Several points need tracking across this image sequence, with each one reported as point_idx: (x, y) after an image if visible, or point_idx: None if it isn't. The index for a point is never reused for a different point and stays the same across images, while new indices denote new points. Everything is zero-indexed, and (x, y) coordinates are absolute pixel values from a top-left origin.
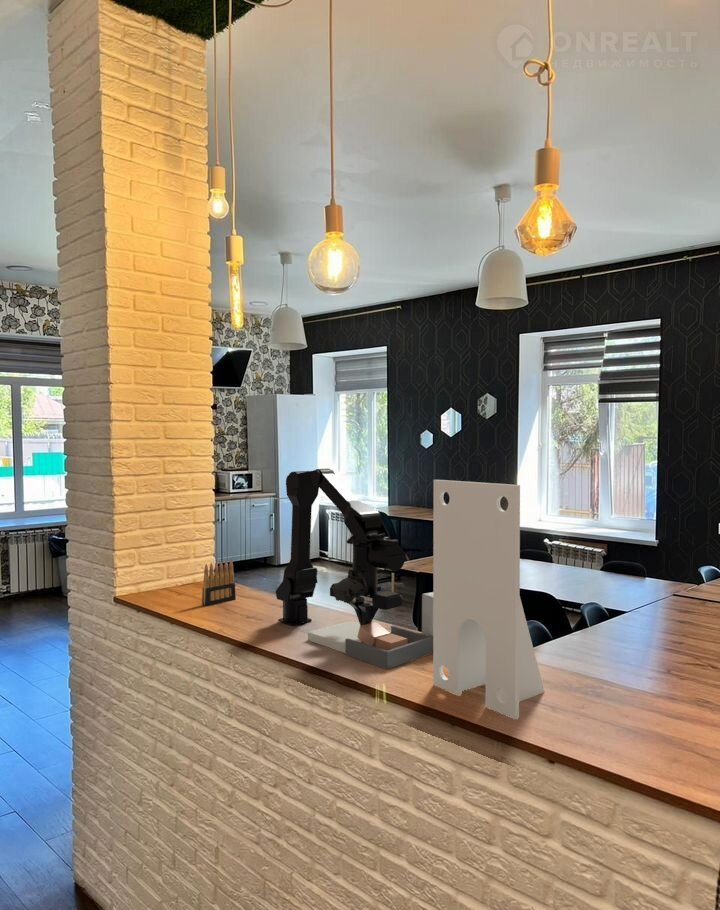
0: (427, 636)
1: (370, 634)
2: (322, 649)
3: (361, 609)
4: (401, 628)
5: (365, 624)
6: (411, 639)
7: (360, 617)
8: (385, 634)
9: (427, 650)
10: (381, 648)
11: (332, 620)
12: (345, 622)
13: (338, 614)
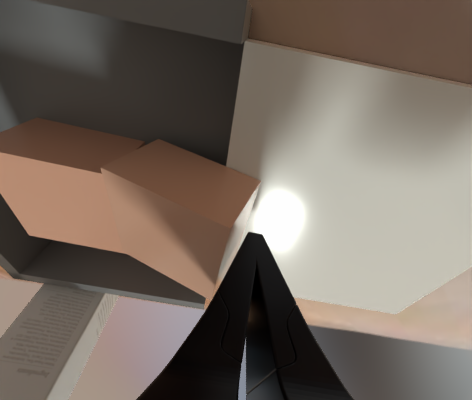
0: (33, 274)
1: (132, 181)
2: (461, 5)
3: (225, 394)
4: (157, 298)
5: (231, 264)
6: (119, 263)
7: (265, 304)
8: (118, 231)
9: None
10: (90, 141)
11: (468, 314)
12: (411, 301)
13: (455, 339)
